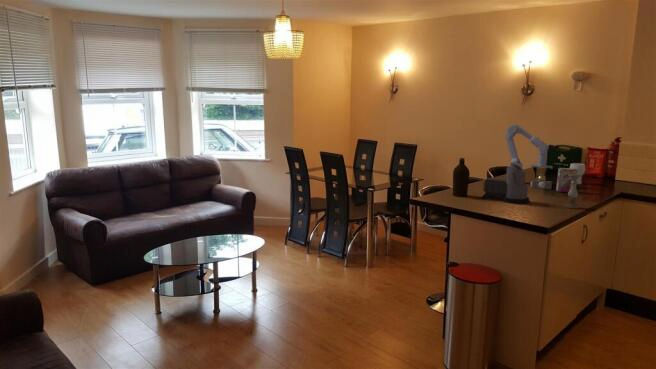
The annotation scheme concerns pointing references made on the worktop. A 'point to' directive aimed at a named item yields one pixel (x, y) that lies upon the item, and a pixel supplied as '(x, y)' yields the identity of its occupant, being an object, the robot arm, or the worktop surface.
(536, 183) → the scale
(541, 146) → the robot arm
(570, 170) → the candy bar box
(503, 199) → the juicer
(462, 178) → the olive oil
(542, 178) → the spacer
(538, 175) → the spacer
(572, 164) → the cup
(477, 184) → the worktop surface
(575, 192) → the candle holder
